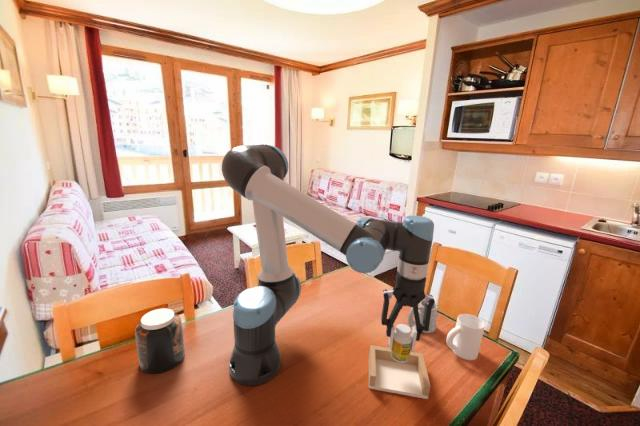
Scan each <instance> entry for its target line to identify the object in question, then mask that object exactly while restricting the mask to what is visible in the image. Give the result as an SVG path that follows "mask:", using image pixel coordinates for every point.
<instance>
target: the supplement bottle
mask: <svg viewBox="0 0 640 426" xmlns="http://www.w3.org/2000/svg"><path fill="white" fill-rule="evenodd" d="M411 334H412V329H411V327H410V326H409V325H408V324H403V323H399V324H397V325H396V327H395V330H394V337H393V345H392V349H391V357H392V358H393V359H394V360H395V361H397V362H400V363H405V362H407V361H408V360H409V357H410V352H411V345H412V336H411Z"/></svg>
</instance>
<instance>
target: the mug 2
mask: <svg viewBox="0 0 640 426" xmlns="http://www.w3.org/2000/svg"><path fill="white" fill-rule="evenodd" d="M485 324H486V323H484V321H483V320H482V319H481V318H479V317H477V316H475V315H473V314H470V313H460V314H459V315H458V316H457V319H456V324H455V327H453V328H451V330H449V332H448V333H447V336H446V341H445V342H446V345H447V346H448V348H450V349H451V351H452V352H453V353H454V354H455V355H456V357H458V358H460V359H463V360H466V361H475V360H476V359H477V358H478V357H479V352H480V348H481V343H482V339H483V336H484V331H485V326H486V325H485Z"/></svg>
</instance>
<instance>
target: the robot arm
mask: <svg viewBox="0 0 640 426" xmlns="http://www.w3.org/2000/svg"><path fill="white" fill-rule="evenodd" d="M221 173H222V177H223V179H224V180H225V182H226V184H227V185H228V186H229V187H230V188H231V189H232V190H233V191H235V193H238V194H239V195H240V196H242V197H243V198H245V199H247V201H252V206H253V208H252V209H253V215H254V216H253V217H254V221H255V230H256V237H257V245H258V253H259V258H260V265H261V270H260V272H259V273H258V275H257V279H258V286H257V285H256V286H252V288H250V287H249V288H246V289H244V290H242V291H241V292H240V293H239V294H238V295H237V296H236V298H235V299H234V302H233V309H232V319H233V335H234V336H233V337H234V345H233V349H232V352H231V354H230V358H229V360H228V368H229V369H228V370H229V374H230V376H231V379H232V380H233V381H235V382H236V383H238V384H240V385H243V386H249V387H251V386H252V387H253V386H259V385H263V384H265V383H267V382H269V381H270V380H272V379H273V378H274V377H275V376H276V375H277V373H278V372H279V370H280V368H281V363H282V362H281V360H282V359H281V358H282V354H281V351H280V350H279V346H278V345H277V342H276V325H278V323H279V322H280V320H282V319H283V317H284V316H285V315H286V314H287V313H288V312H289V311H290V309H291V308H292V307H293V306H294V305H295V304H296V303H297V301H298V300H299V298H300V297H301V292H302V284H301V283H302V282H301V280H300V278H299V277H298V276H297V274H296V273H295V271H294V269H293V267H291V266H289V261H288V253H287V252H288V249H287V243H286V234H285V225H284V218H285V219H287V220H288V221H290V222H291V223H293V224H295V225H296V226H298V227H300V228H301V229H302V230H304V231H306V232H307V233H309V234H311V235H312V236H314V237H315V238H317V239H318V240H321V241H322V242H324V243H325V244H327V245H329V246H330V247H332V248H333V249H335V250H336V251H338V252H340V253H341V254H342V255H344V256H345V259H346V262H347V264H348V266H349V267H350V268H351V269H352V270H353V271H355V272H356V273H359V274H370V273H372V272H374V271H375V270H376V269H378V267H379V266H380V264H381V263H382V262H383V260H384V257H385V254H386V251H387V250H388V251H395V252H399V254H398V255H399V256H398V263H397V269H396V270H397V272H396V278H395V285H394V287H393V288H392V289H391V290H387V289H386V288H385V289H383V290H382V295H383V304H382V311H381V316H380V317H381V318H380V319H381V325H382V326H386V331H385V335H386V337H387V338H388V348H389V349H392V345H393V337H394V332H395V331H396V328H395V322H396V320H397V318H398V316H399V314H400V312H401V310H402V309H403V308H404V307H410V308H412V307H413V312H414V315H413V319H415V324H416V326H415V325H414V326H413V327H411V328H412V329H411V336H412V345H411V350H410V352H415V348H416V342H419V341H420V340H421V335H422V334H423V332H422V331H424V330H425V331H428V330H429V324H430V317H431V310H432V306H433V305H434V303H435V304H436V300H435V298H434V295H432V294H429V295H428V294H426V293H425V288H426V282H427V276H428V268H429V263H430V257H431V251H432V246H433V240H434V239H433V238H434V231H435V223H434V222H433V220H432V219H430V218H428V217H425V216H423V215H422V216H421V215H406V216H404V218H403V221H402V222H397V221H392V220H386V219H385V220H384V219H377V218H374V217H360V218H358V220H357V221H356V223H355V222H353V221H352V220H350V219H348V218H347V217H345V216H344V215H341V214H340V213H338V212H336V211H335V210H334V209H332V208H330V207H328V206H327V205H325V204H323V203H321V202H320V201H318V200H317V199H315V198H313V197H311V196H310V195H308V194H306V193H304V192H303V191H301V190H299V189H298V188H296V187H294V186H293V185H291V184H290V183H288V182H287V181H285V178H286V176H287V174H288V173H289V162H288V158H287V155H285V153H284V151H282V150H281V149H280V148H278V147H276V146H275V145H270V144H269V145H268V144H253V145H249V144H248V145H245V144H244V145H243V144H242V145H238V146H234V147H233V148H231V149H229V150H228V151H227V152H226V154H225V155H224V156H223V159H222V162H221ZM392 296H394V298H395V303H394V305H393V307H392V310H391V311H390V314H389V316H388V313H389V308H390V307H389V306H390V300H391V299H392ZM422 300H424V301H425V309H424V317H423V324H420V318H419V311H418V306H419V304H420V302H421V301H422Z"/></svg>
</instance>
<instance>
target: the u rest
mask: <svg viewBox="0 0 640 426" xmlns="http://www.w3.org/2000/svg"><path fill="white" fill-rule="evenodd" d="M368 389H371V390H376V391H380V392H381V391H382V392H387V393H392V394H398V395H403V396H408V397H414V398H420V399H424V400H429V395H430V390H431V382H430V378H429V374H428V370H427V366H426V362H425V359H424V354H423V353H422V352H415V351H414V352H411V351H410V357H409V360H408V361H407V362H405V363H400V362H397V361H395V360H394V359H393V358H392V357H391V349H389V347H386V346H378V345H371V344H370V345H369V354H368Z"/></svg>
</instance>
